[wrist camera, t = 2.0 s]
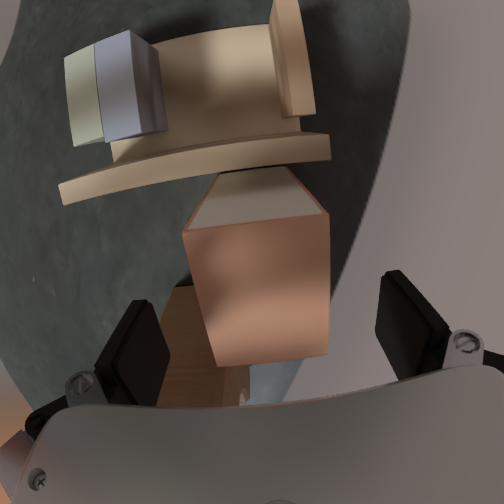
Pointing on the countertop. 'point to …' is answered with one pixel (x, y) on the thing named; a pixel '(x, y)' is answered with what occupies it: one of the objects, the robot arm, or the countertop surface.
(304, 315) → the tall pink rectangular prism
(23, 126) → the countertop surface
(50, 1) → the countertop surface
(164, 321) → the decorative block
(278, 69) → the shelf
